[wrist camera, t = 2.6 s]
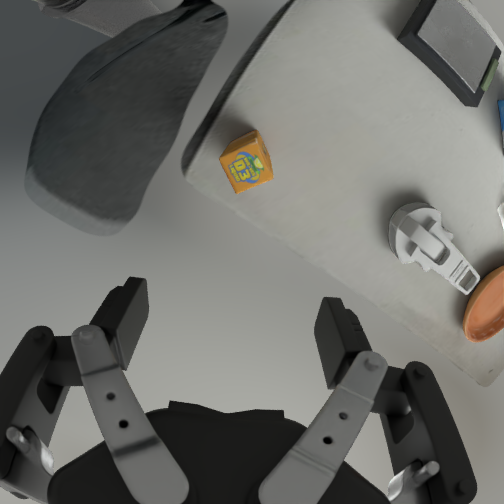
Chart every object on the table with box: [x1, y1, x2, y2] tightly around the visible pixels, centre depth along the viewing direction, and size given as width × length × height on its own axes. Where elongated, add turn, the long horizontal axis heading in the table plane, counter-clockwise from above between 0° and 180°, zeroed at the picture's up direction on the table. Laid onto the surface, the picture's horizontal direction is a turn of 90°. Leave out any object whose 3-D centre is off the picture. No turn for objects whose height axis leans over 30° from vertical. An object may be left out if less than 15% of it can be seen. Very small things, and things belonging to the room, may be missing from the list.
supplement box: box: [219, 130, 274, 194], centre depth 25 cm, size 3×3×10 cm
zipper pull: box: [388, 202, 480, 295], centre depth 32 cm, size 8×18×4 cm, turn 59°
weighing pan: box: [414, 0, 496, 93], centre depth 20 cm, size 10×10×1 cm
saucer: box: [463, 266, 504, 342], centre depth 37 cm, size 16×16×3 cm
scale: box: [397, 0, 501, 107], centre depth 21 cm, size 12×11×3 cm
